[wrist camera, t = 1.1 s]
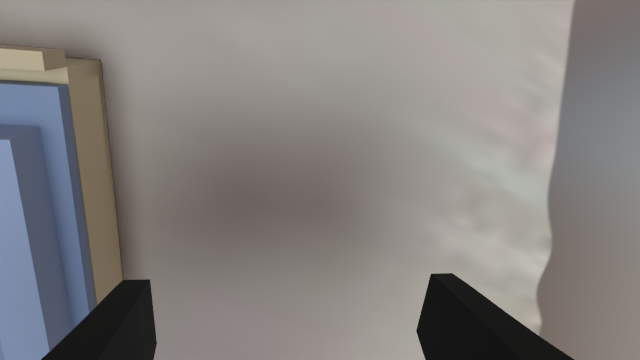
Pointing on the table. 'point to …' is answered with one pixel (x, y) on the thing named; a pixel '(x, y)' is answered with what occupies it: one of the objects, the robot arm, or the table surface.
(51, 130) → the lid
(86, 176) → the beige shallow box
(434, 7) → the table surface
